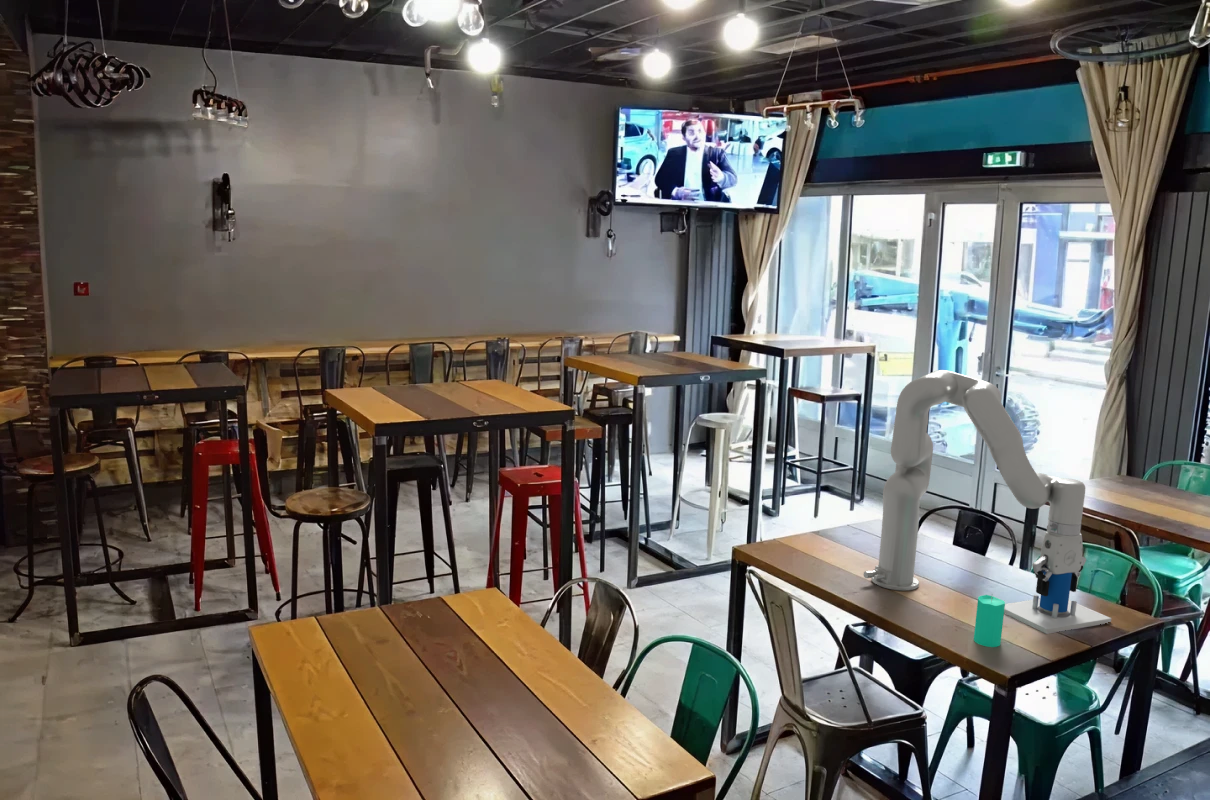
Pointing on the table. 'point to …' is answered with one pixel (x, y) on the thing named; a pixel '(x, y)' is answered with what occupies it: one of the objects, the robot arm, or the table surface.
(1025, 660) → the table surface
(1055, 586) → the beverage can
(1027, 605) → the pin tray
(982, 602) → the candle
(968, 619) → the table surface
